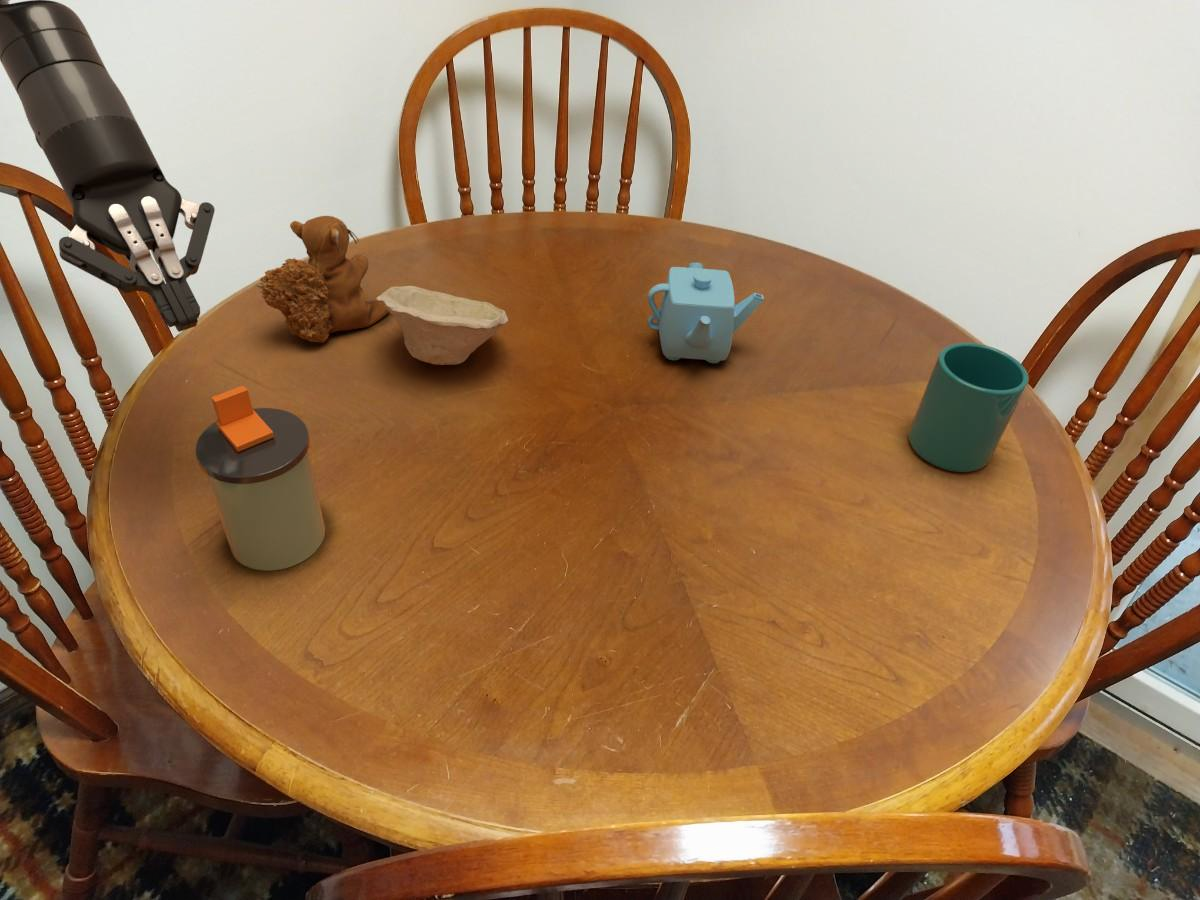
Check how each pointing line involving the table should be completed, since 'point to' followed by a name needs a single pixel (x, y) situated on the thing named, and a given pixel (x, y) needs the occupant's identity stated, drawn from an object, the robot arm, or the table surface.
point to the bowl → (441, 323)
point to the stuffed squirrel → (322, 284)
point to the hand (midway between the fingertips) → (188, 326)
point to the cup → (967, 406)
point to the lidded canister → (265, 493)
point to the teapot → (698, 313)
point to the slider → (240, 419)
